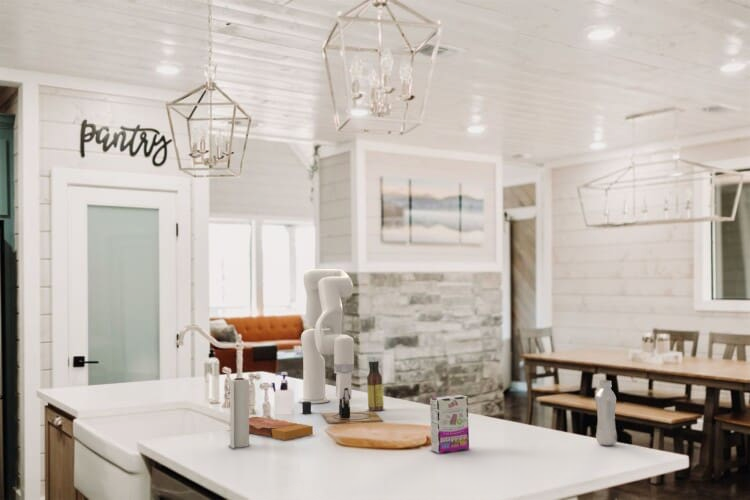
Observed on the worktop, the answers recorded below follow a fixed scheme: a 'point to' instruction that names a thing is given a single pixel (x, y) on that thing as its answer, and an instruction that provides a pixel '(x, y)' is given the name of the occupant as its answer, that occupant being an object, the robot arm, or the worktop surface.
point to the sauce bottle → (374, 387)
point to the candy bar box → (449, 423)
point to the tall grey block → (239, 412)
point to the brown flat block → (278, 428)
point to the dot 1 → (306, 407)
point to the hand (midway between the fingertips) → (344, 416)
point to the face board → (353, 417)
